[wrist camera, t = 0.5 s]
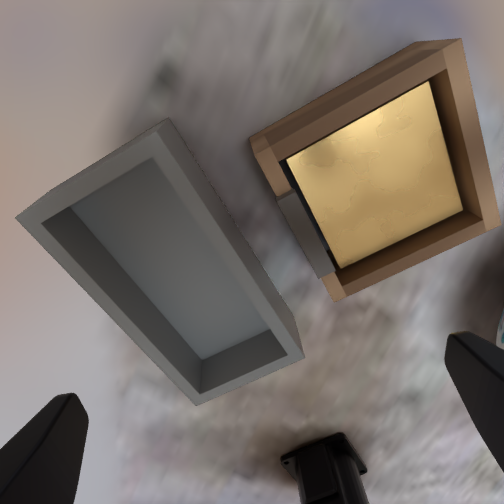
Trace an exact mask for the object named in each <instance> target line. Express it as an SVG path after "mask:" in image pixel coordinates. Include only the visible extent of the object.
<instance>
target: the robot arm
mask: <svg viewBox="0 0 504 504" xmlns="http://www.w3.org/2000/svg"><path fill="white" fill-rule="evenodd" d="M445 365H446V368H447V370H448V372H449V374H450V376H451V378H452V380H453V382H454V384H455V386H456V388H457V390H458V392H459V394H460V396H461V398H462V401H463V403H464V405H465V407H466V409H467V411H468V413H469V415H470V417H471V419H472V421H473V423H474V424H475V426H476V428H477V430H478V432H479V433H480V435H481V437H482V438H483V440H484V442H485V443H486V445H487V447H488V448H489V450H490V451H491V453H492V455H493V456H494V458H495V459H496V461H497V463H498V464H499V466H500V467H501V469H502V471H503V472H504V349H502V348H500V347H498V346H496V345H494V344H492V343H490V342H488V341H486V340H484V339H483V338H481V337H479V336H477V335H475V334H473V333H471V332H468V331H462V332H455V333H451V334H449V336H448V339H447V345H446V351H445ZM88 423H89V420H88V415H87V412H86V411H85V409H84V407H83V405H82V404H81V401H80V399H79V398H78V396H77V395H76V394H75V393H67V394H61V395H57V396H56V397H54V398H53V399H52V400H51V401H50V402H49V403H48V404H47V405H46V406H45V407H44V408H43V409H41V410H40V412H38V414H36V415H35V416H34V417H33V418H32V419H31V420H30V421H29V422H28V423H27V424H26V425H25V426H24V427H23V428H22V429H21V430H20V431H19V432H18V433H17V434H16V435H14V437H12V438H11V439H10V440H9V441H8V442H7V443H6V444H5V445H4V446H3V447H2V448H1V449H0V504H73V503H74V499H75V495H76V491H77V485H78V481H79V476H80V470H81V464H82V459H83V453H84V447H85V442H86V436H87V430H88ZM281 464H282V466H283V467H284V468H285V469H286V470H287V471H288V473H289V474H290V475H291V476H292V477H293V478H294V479H295V480H296V482H297V484H298V490H299V496H300V502H301V504H369V502H368V499H367V496H366V493H365V489H364V486H363V483H362V480H361V477H360V475H363V474H365V473H367V468H366V465H365V464H364V462H363V461H362V459H361V458H360V456H359V455H358V453H357V452H356V450H355V449H354V448H353V446H352V445H351V443H350V442H349V440H348V439H347V437H346V436H345V435H344V434H338V435H335V436H333V437H330V438H328V439H325V440H323V441H320V442H318V443H315V444H313V445H310V446H308V447H305V448H303V449H300V450H298V451H295V452H292V453H290V454H287V455H285V456H283V457H281Z"/></svg>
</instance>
